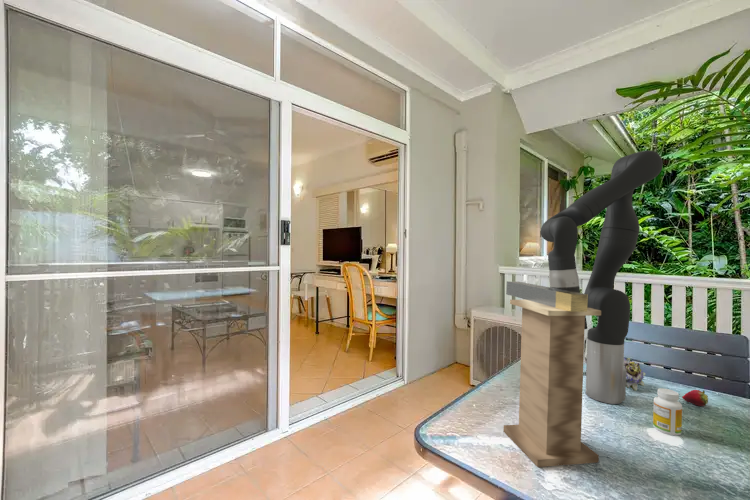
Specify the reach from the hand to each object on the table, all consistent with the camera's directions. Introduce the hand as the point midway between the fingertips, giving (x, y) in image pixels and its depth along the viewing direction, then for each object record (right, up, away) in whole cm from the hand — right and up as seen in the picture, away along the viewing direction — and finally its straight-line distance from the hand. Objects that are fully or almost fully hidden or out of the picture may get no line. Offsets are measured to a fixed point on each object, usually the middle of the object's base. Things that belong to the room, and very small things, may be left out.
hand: (570, 340), depth 96 cm
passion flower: (+26, -19, +14) cm, 35 cm away
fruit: (+37, -19, +1) cm, 42 cm away
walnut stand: (-18, -18, -22) cm, 34 cm away
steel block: (-18, +14, -18) cm, 29 cm away
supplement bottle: (+16, -19, -14) cm, 28 cm away
